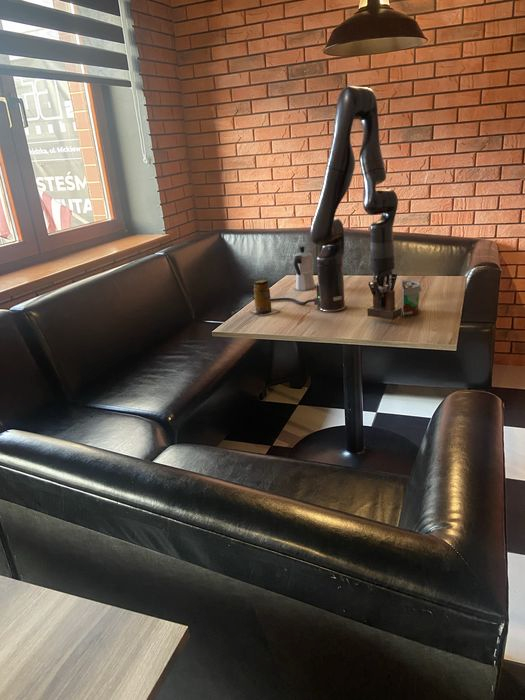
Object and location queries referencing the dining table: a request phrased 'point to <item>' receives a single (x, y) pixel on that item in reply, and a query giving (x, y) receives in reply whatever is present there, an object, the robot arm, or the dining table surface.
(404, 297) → the food container
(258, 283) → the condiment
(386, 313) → the brown stepped block
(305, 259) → the coffee maker
